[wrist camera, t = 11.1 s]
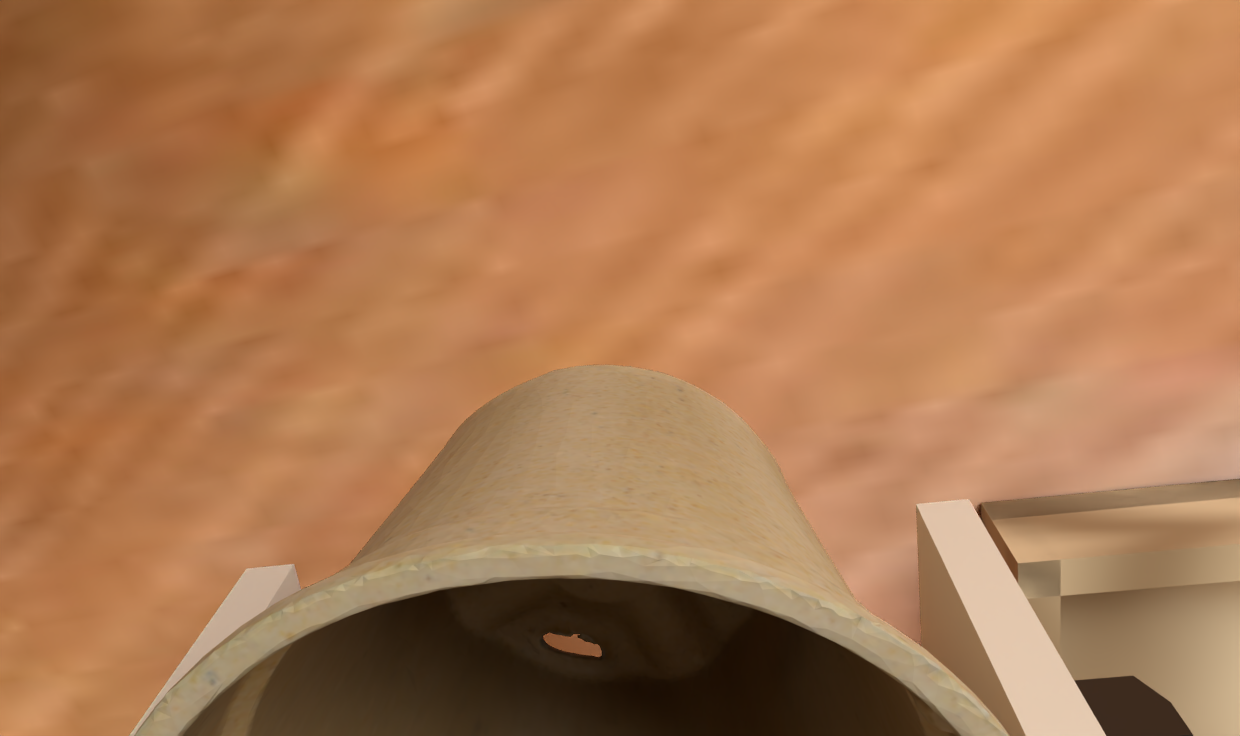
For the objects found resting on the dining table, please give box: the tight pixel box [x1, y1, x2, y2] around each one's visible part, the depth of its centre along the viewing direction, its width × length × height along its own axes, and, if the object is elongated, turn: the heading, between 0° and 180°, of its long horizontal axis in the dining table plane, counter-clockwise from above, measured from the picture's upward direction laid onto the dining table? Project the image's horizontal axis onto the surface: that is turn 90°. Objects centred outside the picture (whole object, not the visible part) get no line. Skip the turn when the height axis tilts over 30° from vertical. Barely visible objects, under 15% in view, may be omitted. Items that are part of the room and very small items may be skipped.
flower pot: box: [134, 365, 1010, 736], centre depth 14 cm, size 9×9×9 cm
